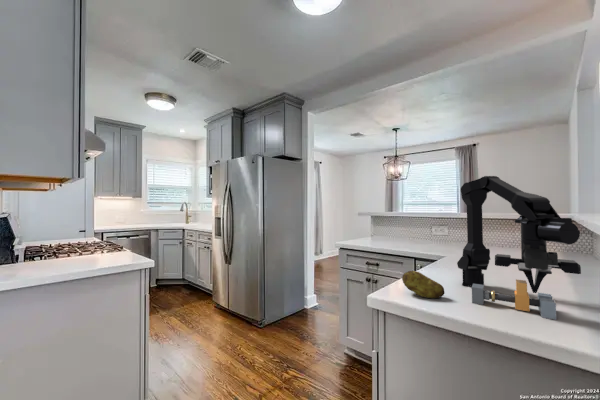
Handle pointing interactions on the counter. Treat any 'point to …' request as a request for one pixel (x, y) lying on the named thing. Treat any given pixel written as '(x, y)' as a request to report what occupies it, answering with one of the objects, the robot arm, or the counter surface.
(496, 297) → the black rod
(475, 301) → the connector
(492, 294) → the band
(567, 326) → the counter surface
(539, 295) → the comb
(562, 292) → the counter surface
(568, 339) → the counter surface
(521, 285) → the sleeve
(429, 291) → the potato
